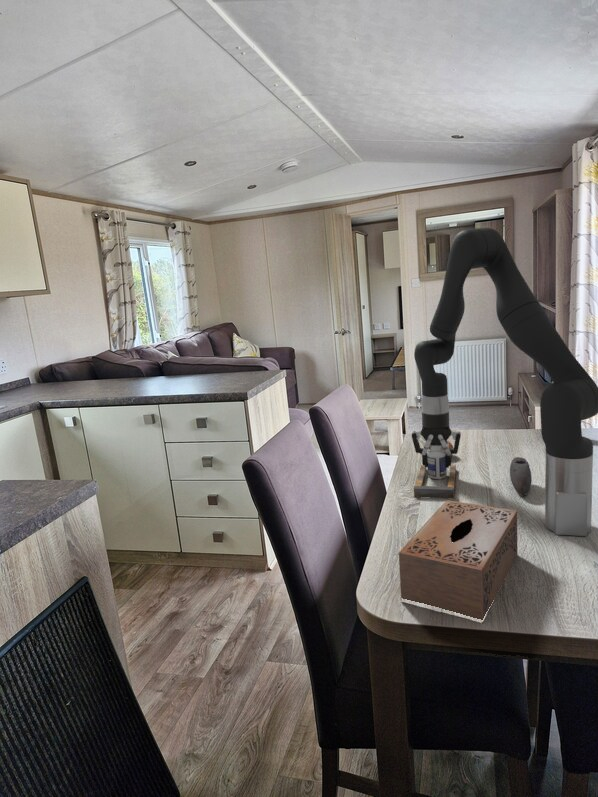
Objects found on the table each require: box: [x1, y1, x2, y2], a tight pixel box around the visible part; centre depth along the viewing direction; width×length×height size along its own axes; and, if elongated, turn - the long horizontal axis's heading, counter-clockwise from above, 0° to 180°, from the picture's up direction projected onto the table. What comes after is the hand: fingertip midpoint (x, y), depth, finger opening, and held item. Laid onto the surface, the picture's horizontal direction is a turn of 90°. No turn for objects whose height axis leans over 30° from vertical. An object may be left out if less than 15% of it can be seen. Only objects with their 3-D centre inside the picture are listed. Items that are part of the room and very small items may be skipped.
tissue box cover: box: [398, 499, 518, 620], centre depth 105 cm, size 26×14×10 cm, turn 147°
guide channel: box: [413, 464, 457, 499], centre depth 154 cm, size 22×10×2 cm, turn 163°
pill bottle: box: [427, 445, 448, 480], centre depth 159 cm, size 5×5×10 cm
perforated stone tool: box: [509, 456, 533, 497], centre depth 144 cm, size 15×5×7 cm, turn 161°
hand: (437, 466), depth 159 cm, fingers closed on pill bottle, 5 cm apart
